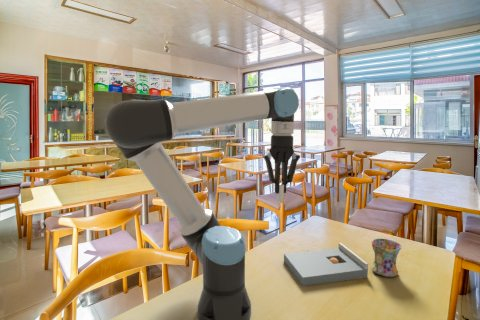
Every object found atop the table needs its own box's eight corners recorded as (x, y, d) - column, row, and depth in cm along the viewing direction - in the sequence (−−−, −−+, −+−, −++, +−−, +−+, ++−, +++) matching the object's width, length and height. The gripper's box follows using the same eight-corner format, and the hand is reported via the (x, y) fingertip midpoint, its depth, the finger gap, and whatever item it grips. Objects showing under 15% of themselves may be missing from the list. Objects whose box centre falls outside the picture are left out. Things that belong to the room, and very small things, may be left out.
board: (302, 286, 95) (302, 271, 94) (283, 261, 112) (284, 248, 111) (367, 277, 100) (368, 263, 99) (340, 254, 117) (341, 242, 116)
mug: (405, 277, 100) (407, 248, 98) (381, 280, 98) (383, 251, 97) (382, 260, 111) (384, 234, 110) (360, 263, 110) (361, 236, 108)
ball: (330, 268, 104) (334, 259, 104) (325, 263, 108) (329, 254, 108) (338, 271, 105) (342, 262, 105) (332, 266, 109) (337, 257, 109)
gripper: (266, 135, 94) (265, 206, 97) (304, 135, 96) (301, 204, 100) (260, 134, 101) (259, 199, 105) (296, 134, 104) (293, 198, 107)
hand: (280, 202), depth 102 cm, fingers closed
